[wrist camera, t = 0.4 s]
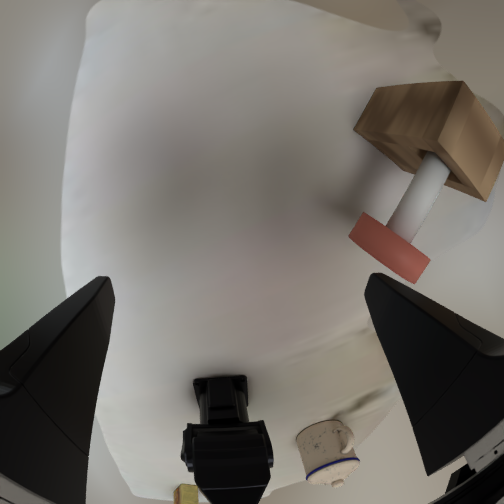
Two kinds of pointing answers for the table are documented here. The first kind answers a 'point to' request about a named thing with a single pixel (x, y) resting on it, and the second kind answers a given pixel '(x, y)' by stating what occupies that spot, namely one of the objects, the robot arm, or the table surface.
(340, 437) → the teacup with lid
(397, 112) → the sleeve
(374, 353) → the table surface
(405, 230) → the plunger
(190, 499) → the candy box
